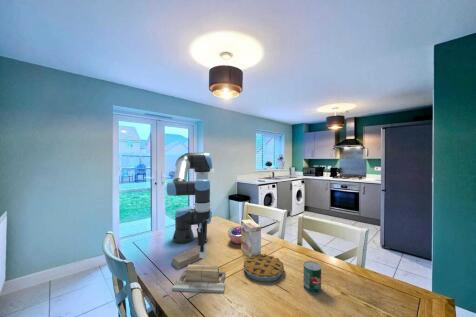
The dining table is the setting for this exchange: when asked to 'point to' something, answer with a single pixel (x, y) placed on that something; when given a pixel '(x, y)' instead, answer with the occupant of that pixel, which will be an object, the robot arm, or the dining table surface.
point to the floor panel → (200, 285)
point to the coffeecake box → (250, 237)
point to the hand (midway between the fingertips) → (202, 257)
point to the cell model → (235, 234)
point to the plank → (202, 273)
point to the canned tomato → (312, 277)
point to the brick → (185, 258)
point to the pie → (263, 267)
